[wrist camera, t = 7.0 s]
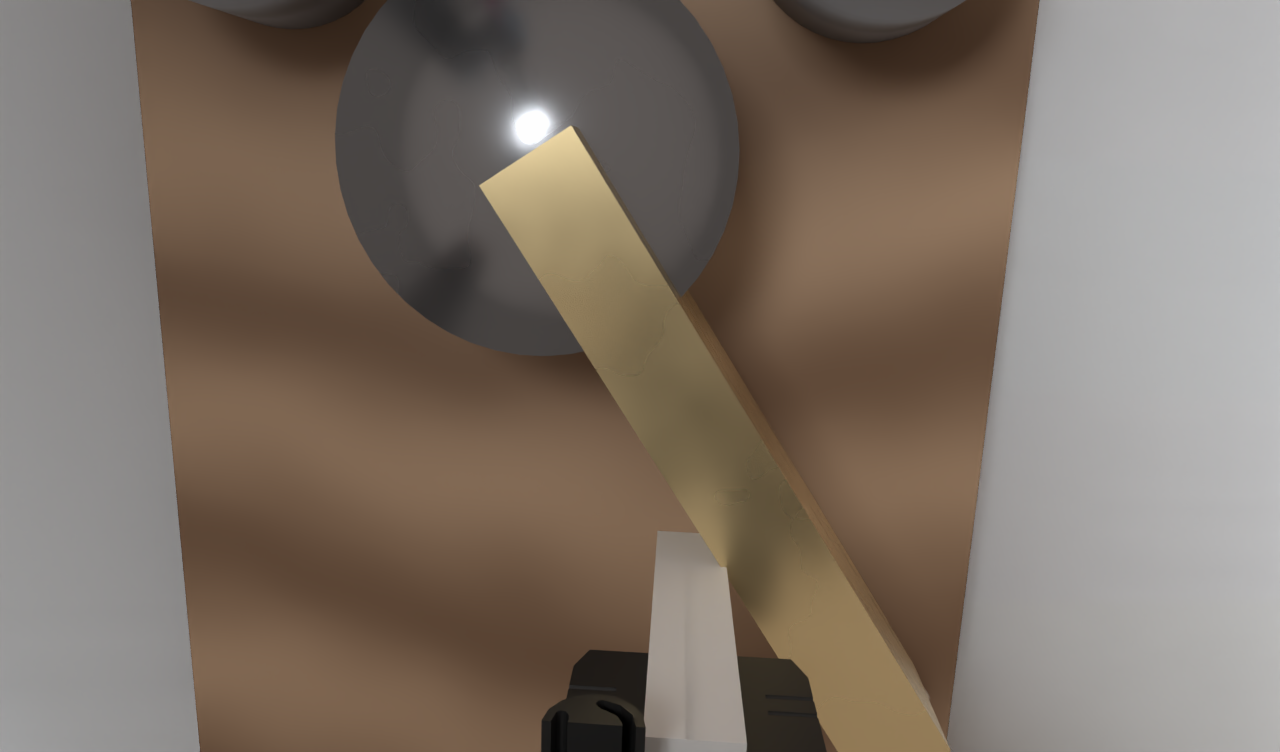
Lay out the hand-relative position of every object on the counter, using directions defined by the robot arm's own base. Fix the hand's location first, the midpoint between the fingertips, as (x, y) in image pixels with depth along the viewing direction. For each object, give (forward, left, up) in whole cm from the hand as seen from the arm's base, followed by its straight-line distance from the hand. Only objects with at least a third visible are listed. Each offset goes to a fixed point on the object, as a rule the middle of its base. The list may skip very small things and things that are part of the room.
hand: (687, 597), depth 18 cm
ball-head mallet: (-4, 0, -3) cm, 5 cm away
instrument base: (-4, -3, -6) cm, 8 cm away
